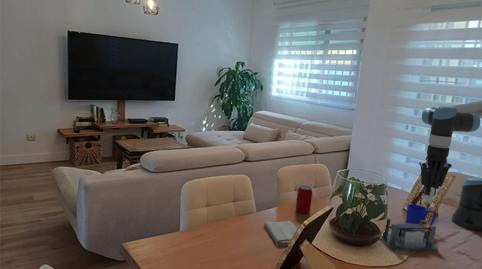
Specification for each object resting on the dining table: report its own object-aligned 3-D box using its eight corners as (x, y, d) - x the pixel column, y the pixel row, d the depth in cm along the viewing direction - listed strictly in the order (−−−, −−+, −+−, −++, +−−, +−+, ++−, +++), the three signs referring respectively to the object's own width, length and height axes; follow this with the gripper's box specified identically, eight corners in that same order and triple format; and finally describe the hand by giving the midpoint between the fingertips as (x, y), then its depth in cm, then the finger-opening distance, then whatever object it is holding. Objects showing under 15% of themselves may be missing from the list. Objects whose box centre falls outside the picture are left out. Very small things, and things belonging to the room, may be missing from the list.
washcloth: (277, 247, 131) (278, 240, 130) (262, 226, 148) (263, 219, 147) (306, 246, 134) (307, 239, 133) (289, 225, 151) (289, 218, 150)
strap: (427, 225, 146) (427, 222, 146) (433, 230, 142) (434, 227, 142) (386, 225, 143) (386, 222, 143) (391, 230, 139) (392, 227, 139)
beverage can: (311, 211, 168) (315, 187, 166) (306, 215, 162) (309, 190, 160) (298, 207, 171) (301, 184, 169) (293, 211, 166) (296, 187, 164)
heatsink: (418, 236, 151) (421, 216, 149) (437, 250, 139) (442, 229, 138) (375, 235, 148) (378, 215, 146) (391, 250, 136) (395, 228, 134)
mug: (435, 235, 154) (439, 213, 152) (406, 230, 156) (410, 209, 154) (429, 227, 162) (433, 207, 160) (401, 223, 164) (405, 202, 162)
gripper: (446, 144, 142) (436, 199, 146) (417, 143, 140) (408, 199, 144) (460, 148, 135) (449, 206, 139) (430, 147, 133) (419, 206, 137)
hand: (428, 202), depth 142 cm, fingers closed
